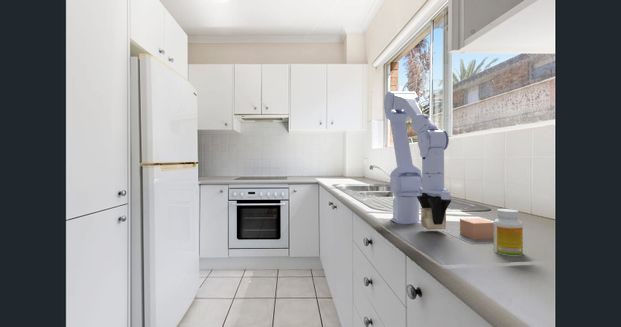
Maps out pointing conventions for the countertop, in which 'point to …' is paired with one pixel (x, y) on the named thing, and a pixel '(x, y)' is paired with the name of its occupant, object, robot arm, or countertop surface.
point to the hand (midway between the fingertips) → (433, 222)
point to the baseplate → (472, 241)
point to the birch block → (430, 220)
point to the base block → (477, 228)
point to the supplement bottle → (508, 233)
